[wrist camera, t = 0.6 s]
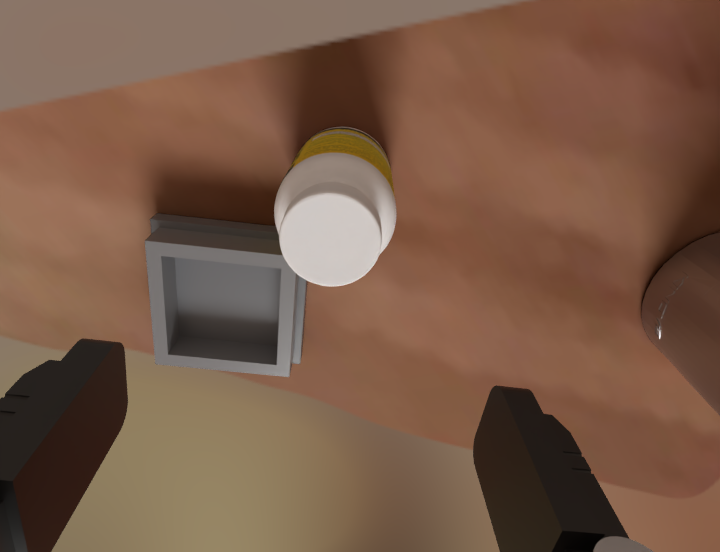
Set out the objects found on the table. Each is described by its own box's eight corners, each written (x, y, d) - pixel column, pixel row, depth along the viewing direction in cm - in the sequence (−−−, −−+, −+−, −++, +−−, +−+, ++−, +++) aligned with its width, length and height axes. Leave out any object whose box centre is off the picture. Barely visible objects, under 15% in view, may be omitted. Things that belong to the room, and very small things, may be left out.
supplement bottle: (291, 124, 26) (255, 169, 18) (392, 125, 26) (406, 171, 18) (296, 219, 29) (266, 301, 20) (388, 220, 29) (399, 303, 20)
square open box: (311, 230, 29) (305, 250, 26) (301, 354, 33) (296, 383, 30) (156, 213, 29) (135, 231, 26) (166, 341, 33) (148, 369, 30)
